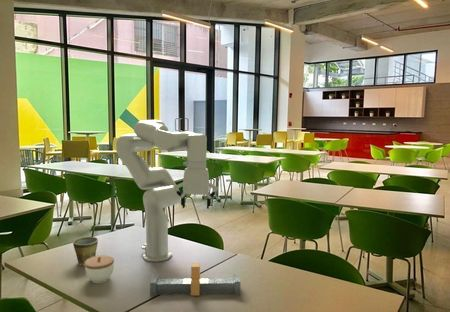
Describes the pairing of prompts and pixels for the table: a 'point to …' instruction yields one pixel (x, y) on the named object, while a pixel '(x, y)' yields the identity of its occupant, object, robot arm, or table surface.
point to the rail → (185, 286)
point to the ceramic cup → (85, 248)
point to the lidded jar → (99, 268)
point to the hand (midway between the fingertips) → (195, 207)
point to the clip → (195, 279)
